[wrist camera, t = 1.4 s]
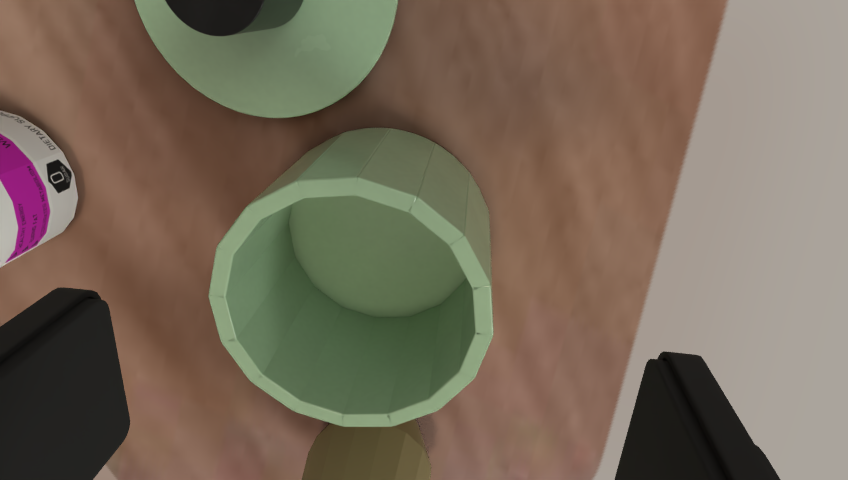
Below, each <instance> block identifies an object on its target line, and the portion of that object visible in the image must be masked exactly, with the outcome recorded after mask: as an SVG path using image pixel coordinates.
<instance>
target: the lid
mask: <svg viewBox="0 0 848 480" xmlns="http://www.w3.org/2000/svg"><path fill="white" fill-rule="evenodd" d="M134 1H135V4H136V7H137V10H138V13H139V15H140V17H141V19H142V22H143V24H144V26H145V28H146V30H147V32H148V34H149V35H150V37H151V39H152V41H153V42H154V44H155V46H156V47H157V49H158V50H159V51H160V53H161V54H162V55H163V57H164V58H165V60H166V61H167V62H168V63H169V64H170V65H171V66H172V68H173V69H174V70H175V71H176V72H177V73H178V74H179V75H180V76H181V77H182V78H183V79H184V80H185V81H187V82H188V83H189V84H190V85H191V86H192V87H194V88H195V89H196V90H198V91H199V92H201V93H202V94H203V95H205V96H206V97H208V98H210V99H211V100H213V101H215V102H217V103H219V104H221V105H222V106H225V107H227V108H230V109H232V110H235V111H237V112H241V113H245V114H249V115H252V116H258V117H266V118H290V117H296V116H303V115H306V114H310V113H313V112H316V111H319V110H321V109H323V108H326V107H328V106H330V105H332V104H334V103H335V102H337V101H338V100H340V99H341V98H343V97H345V96H346V95H347V94H349V93H350V92H351V91H352V90H353V89H354V88H356V87H357V86H358V85H359V84H360V83H361V82H362V81H363V80H364V78H365V77H366V76H367V75H368V74H369V73H370V72H371V70H372V69H373V67H374V66H375V64H376V63H377V61H378V60H379V58H380V56H381V54H382V52H383V50H384V48H385V46H386V44H387V42H388V40H389V37H390V34H391V31H392V28H393V25H394V21H395V16H396V11H397V6H398V0H134Z"/></svg>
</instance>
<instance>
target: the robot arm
mask: <svg viewBox="0 0 848 480" xmlns="http://www.w3.org/2000/svg"><path fill="white" fill-rule="evenodd" d="M129 426H130V417H129V412H128V406H127V401H126V396H125V391H124V385H123V380H122V375H121V369H120V364H119V359H118V353H117V348H116V343H115V337H114V332H113V327H112V321H111V316H110V311H109V307H108V304H107V303H106V302H105V301H104V300H101V298H100V296H99V295H98V293H97V292H95V291H92V290H83V289H73V288H57V289H55V290H53V291H51V292H50V293H48V294H47V295H46V296H44V297H43V298H41V299H40V300H38V301H37V302H36V303H34V304H33V305H31V306H30V307H28V308H27V309H25V310H24V311H23V312H21V313H20V314H18V315H17V316H15V317H14V318H12V319H11V320H10V321H8V322H7V323H5V324H4V325H2V326H1V327H0V480H93V478H94V477H95V476H96V475H97V474H98V472H99V471H100V470H101V469H102V467H103V466H104V465H105V464H106V462H107V461H108V460H109V459H110V457H111V456H112V455H113V454H114V452H115V451H116V450H117V449H118V447H119V446H120V445H121V444H122V442H123V441H124V439H125V438H126V436H127V433H128V430H129ZM615 480H780V479H779V477H778V475H777V474H776V472H775V470H774V469H773V467H772V465H771V464H770V462H769V460H768V459H767V457H766V455H765V454H764V453H763V452H762V451H761V449H760V448H759V447H758V446H756V445H755V444H754V443H753V441H752V439H751V438H750V436H749V435H748V433H747V431H746V429H745V428H744V426H743V424H742V423H741V421H740V419H739V418H738V416H737V414H736V413H735V411H734V409H733V408H732V406H731V405H730V403H729V401H728V399H727V398H726V396H725V395H724V393H723V391H722V390H721V388H720V386H719V385H718V383H717V381H716V380H715V378H714V376H713V375H712V373H711V372H710V370H709V368H708V366H707V365H706V363H705V362H704V360H703V359H702V357H701V356H698V355H692V354H682V353H673V352H662V353H661V354H660V355H659V357H658V359H650V360H649V361H648V362H647V364H646V367H645V370H644V374H643V378H642V381H641V385H640V388H639V392H638V396H637V399H636V403H635V407H634V410H633V414H632V418H631V421H630V425H629V429H628V432H627V436H626V440H625V443H624V447H623V451H622V454H621V458H620V462H619V466H618V469H617V473H616V477H615Z"/></svg>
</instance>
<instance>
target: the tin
mask: <svg viewBox="0 0 848 480" xmlns="http://www.w3.org/2000/svg"><path fill="white" fill-rule="evenodd" d="M208 296H209V300H210V304H211V307H212V311H213V315H214V318H215V322H216V326H217V329H218V333H219V337H220V340H221V342H222V344H223V345H224V347H225V348H226V349H227V351H228V352H229V353H230V355H231V356H232V357H233V359H234V360H235V361H236V363H237V364H238V365H239V367H240V368H241V369H242V371H243V372H244V374H245V375H246V376H247V378H248V379H249V380H250V382H252V383H253V384H255V385H256V386H257V387H259V388H260V389H262V390H263V391H265V392H266V393H268V394H269V395H270V396H272V397H273V398H275V399H276V400H278V401H279V402H281V403H282V404H283V405H285V406H286V407H288V408H289V409H291V410H292V411H295V412H297V413H300V414H303V415H306V416H310V417H313V418H316V419H319V420H323V421H326V422H329V423H332V424H335V425H339V426H343V427H392V426H396V425H399V424H401V423H404V422H407V421H410V420H413V419H416V418H418V417H421V416H424V415H427V414H430V413H433V412H435V411H438V409H441V408H442V407H443V406H444V405H445V404H446V403H447V402H448V401H450V400H451V399H452V398H453V397H454V396H455V395H456V394H458V393H459V392H460V391H461V390H462V389H463V388H464V387H465V386H467V385H468V384H469V383H470V382H471V381H472V380H473V379H474V378H475V376H476V374H477V372H478V370H479V367H480V365H481V363H482V360H483V358H484V356H485V353H486V351H487V349H488V346H489V344H490V342H491V340H492V337H493V302H492V268H491V240H490V220H489V211H488V208H487V206H486V204H485V201H484V198H483V196H482V194H481V191H480V189H479V187H478V186H477V184H476V182H475V181H474V179H473V177H472V176H471V174H470V173H469V172H468V170H467V169H466V168H465V167H464V166H463V165H462V164H461V163H460V162H459V161H458V160H457V159H456V158H455V157H454V156H453V155H452V154H450V153H449V152H448V151H446V150H445V149H444V148H442V147H441V146H439V145H438V144H436V143H434V142H432V141H430V140H429V139H427V138H424V137H422V136H419V135H417V134H414V133H411V132H407V131H403V130H399V129H392V128H364V129H357V130H353V131H347V132H343V133H341V134H339V135H337V136H335V137H333V138H330V139H328V140H327V141H325V142H323V143H322V144H320V145H319V146H317V147H315V148H313V149H311V150H309V151H308V152H307V153H306V154H304V155H303V156H302V157H301V158H300V159H299V160H298V161H297V162H295V163H294V164H293V165H292V166H291V167H290V168H289V169H288V170H286V171H285V172H284V173H283V174H282V175H281V176H280V177H279V178H278V179H276V180H275V181H274V182H273V183H272V184H271V185H270V186H269V187H267V188H266V189H265V190H264V191H263V192H262V193H261V194H260V195H259V196H257V197H256V198H255V199H254V200H253V201H252V202H251V203H250V204H248V205H247V206H246V207H245V209H244V210H243V211H242V213H241V214H240V215H239V217H238V218H237V219H236V221H235V222H234V223H233V225H232V226H231V228H230V229H229V230H228V232H227V233H226V234H225V236H224V237H223V238H222V240H221V241H220V242H219V244H218V246H217V248H216V253H215V259H214V265H213V271H212V277H211V283H210V289H209V295H208Z"/></svg>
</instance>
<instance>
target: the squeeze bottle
mask: <svg viewBox="0 0 848 480" xmlns="http://www.w3.org/2000/svg"><path fill="white" fill-rule="evenodd" d="M430 477H431V464H430V461H429V458H428V455H427V451H426V448H425V445H424V442H423V438H422V435H421V432H420V429H419V427H418V424H417V422H416V420H415V419H413V420H410V421H407V422H404V423H401V424H399V425H396V426H392V427H343V426H339V425H335V424H332V423H330V424H329V425H328V426H327V427H326V428H325V429H324V430H323V431H322V432H321V433H320V434H319V435H318V436H317V438H316V439H315V441H314V443H313V445H312V447H311V449H310V451H309V453H308V457H307V461H306V465H305V469H304V473H303V477H302V480H430Z"/></svg>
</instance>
